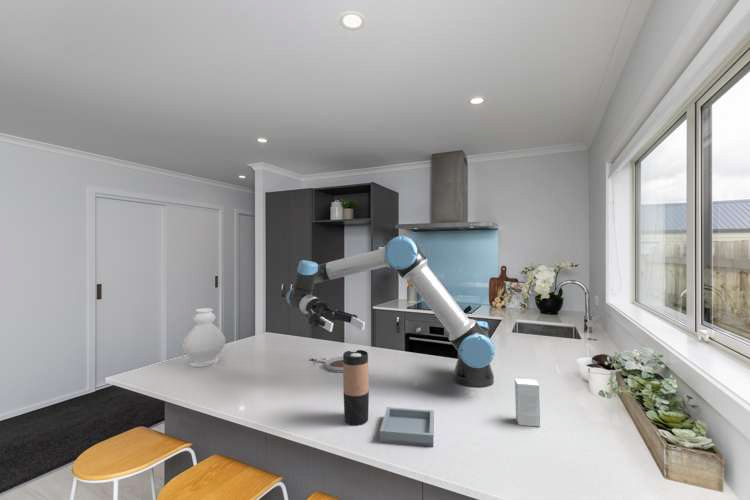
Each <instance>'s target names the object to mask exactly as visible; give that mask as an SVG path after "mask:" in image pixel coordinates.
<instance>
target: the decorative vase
mask: <svg viewBox="0 0 750 500" xmlns="http://www.w3.org/2000/svg"><path fill="white" fill-rule="evenodd" d="M194 310H195V311H194V312H195V313H196V314H195V315H194V316H193V317H192V321H193V322H194V323H195V324H196V325H194V327H193V328H192V329H191V330H190V331H189V332H188V333H187V334H186V336H185V337H184V340H183V342H182V350H183V351H184V353H185V355H187V357H188V358H189V359H191V361H190V362H189V367H192V368H205V367H210V366H214V365H216V364H218V363H219V362H220V358H219V357H218V356H219V354H220V353H221V352H222V350H223V349H224V347H225V346H226V336H225V335H224V333H223V332H222V330H220V328H218V326H216V325H215V324H213V322H215V320H216V314H214V313H213V311H214V308H213V307H208V308H207V307H202V308H196V309H194Z"/></svg>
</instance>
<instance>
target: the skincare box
mask: <svg viewBox="0 0 750 500" xmlns="http://www.w3.org/2000/svg"><path fill="white" fill-rule="evenodd" d="M514 390H515V391H514V392H515V398H514V399H515V420H516V422H517V425H519V426H526V427H527V426H529V427H537V428H538V427H541V407H540V406H541V403H540V402H541V401H540V384H539V382H538V381H537V380H536V379H528V378H527V379H525V378H524V379H523V378H514Z"/></svg>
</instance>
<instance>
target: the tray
mask: <svg viewBox="0 0 750 500" xmlns="http://www.w3.org/2000/svg"><path fill="white" fill-rule="evenodd" d="M434 414H435V413H434V410H433V409H432V410H431V409H420V408H419V409H418V408H404V407H392V406H391V407H386V409H385V413H384V416H383V420H382V422H381V426H380V429H379V443H385V444H396V445H407V446H416V447H427V448H434V440H435V439H434V431H435V429H434V428H435V417H434V416H435V415H434Z"/></svg>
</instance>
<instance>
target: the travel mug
mask: <svg viewBox="0 0 750 500" xmlns="http://www.w3.org/2000/svg"><path fill="white" fill-rule="evenodd" d="M342 356H343V376H342V377H343V378H342V381H343V383H342V384H343V389H342V390H343V392H342V393H343V412H344V414H343V415H344V422H345V423H346V425H350V426H363V425H364V424H366V423H368V421H369V398H370V393H369V392H370V388H369V385H370V384H369V353H368V352H367V351H366V350H363V349H358V350H356V351H351V350H347V351H345V352H343V354H342Z"/></svg>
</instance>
